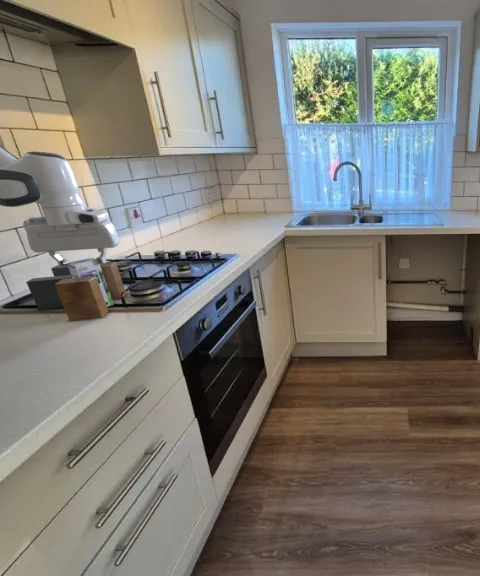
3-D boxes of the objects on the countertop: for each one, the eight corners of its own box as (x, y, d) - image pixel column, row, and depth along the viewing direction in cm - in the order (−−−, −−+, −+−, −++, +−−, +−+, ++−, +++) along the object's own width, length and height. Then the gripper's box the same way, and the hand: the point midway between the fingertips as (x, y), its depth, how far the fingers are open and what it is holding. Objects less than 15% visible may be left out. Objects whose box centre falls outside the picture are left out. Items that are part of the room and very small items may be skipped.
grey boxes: (38, 310, 106) (26, 281, 103) (66, 290, 120) (56, 265, 116) (77, 306, 109) (66, 278, 105) (100, 287, 122) (91, 262, 119)
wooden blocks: (69, 321, 99) (54, 284, 95) (98, 296, 115) (86, 264, 110) (102, 317, 101) (88, 281, 97) (126, 294, 116) (115, 261, 112)
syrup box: (92, 312, 104) (74, 265, 99) (83, 307, 107) (66, 261, 102) (114, 305, 109) (98, 259, 103) (105, 301, 112) (89, 256, 106)
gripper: (12, 220, 92) (33, 271, 97) (103, 216, 97) (118, 265, 102) (28, 215, 98) (46, 264, 103) (114, 211, 102) (127, 258, 108)
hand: (83, 264), depth 103 cm, fingers open, 8 cm apart
